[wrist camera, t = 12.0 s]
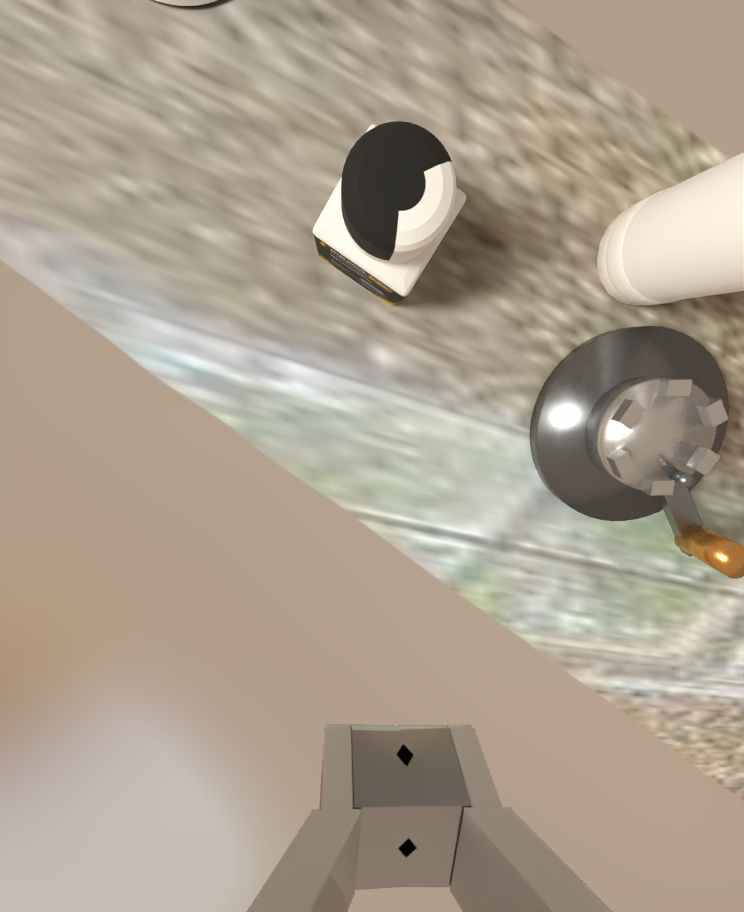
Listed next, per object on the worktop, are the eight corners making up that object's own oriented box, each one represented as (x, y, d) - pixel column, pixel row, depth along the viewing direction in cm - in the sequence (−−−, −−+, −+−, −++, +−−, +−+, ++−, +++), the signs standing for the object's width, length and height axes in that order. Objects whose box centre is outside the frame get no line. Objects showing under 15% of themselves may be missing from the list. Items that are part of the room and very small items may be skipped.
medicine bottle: (316, 255, 33) (303, 205, 21) (365, 168, 32) (379, 65, 20) (393, 307, 34) (420, 288, 23) (443, 226, 33) (498, 161, 21)
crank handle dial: (568, 412, 36) (614, 425, 30) (665, 355, 35) (732, 357, 29) (639, 565, 40) (692, 603, 34) (727, 517, 39) (797, 547, 33)
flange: (548, 318, 35) (558, 316, 34) (736, 335, 37) (755, 335, 35) (515, 510, 39) (523, 517, 38) (685, 519, 41) (700, 526, 39)
